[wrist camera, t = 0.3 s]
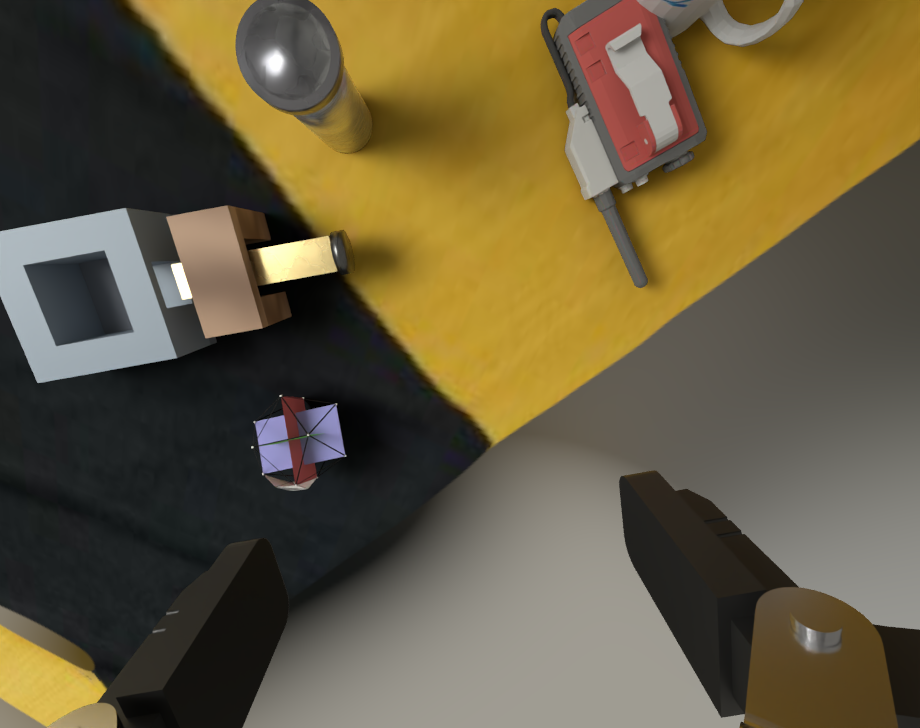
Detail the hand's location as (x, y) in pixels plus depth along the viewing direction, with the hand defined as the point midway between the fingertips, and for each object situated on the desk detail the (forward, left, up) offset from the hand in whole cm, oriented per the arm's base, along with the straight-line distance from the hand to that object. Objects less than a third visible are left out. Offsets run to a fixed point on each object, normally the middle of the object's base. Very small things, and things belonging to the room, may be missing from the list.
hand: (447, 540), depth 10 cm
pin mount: (-7, -14, -27) cm, 32 cm away
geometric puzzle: (+6, -13, -28) cm, 31 cm away
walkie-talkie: (-12, +15, -27) cm, 33 cm away
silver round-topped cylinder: (-16, -5, -27) cm, 32 cm away
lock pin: (-7, -12, -26) cm, 29 cm away
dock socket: (-7, -24, -27) cm, 37 cm away
